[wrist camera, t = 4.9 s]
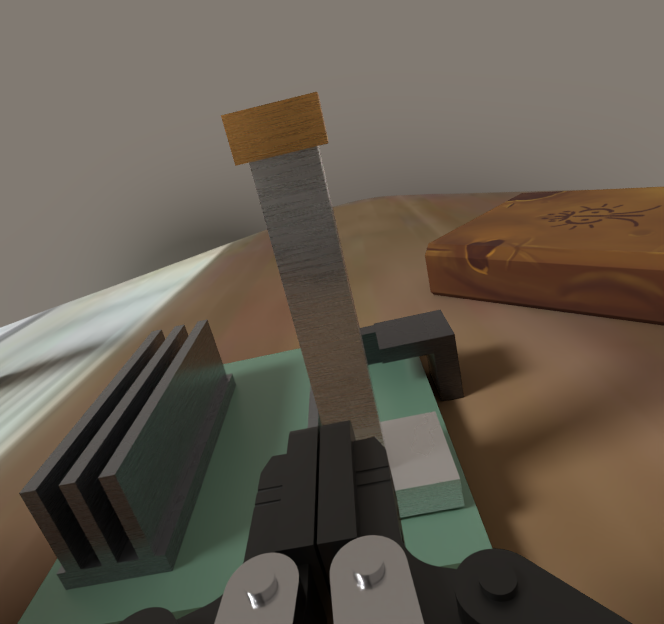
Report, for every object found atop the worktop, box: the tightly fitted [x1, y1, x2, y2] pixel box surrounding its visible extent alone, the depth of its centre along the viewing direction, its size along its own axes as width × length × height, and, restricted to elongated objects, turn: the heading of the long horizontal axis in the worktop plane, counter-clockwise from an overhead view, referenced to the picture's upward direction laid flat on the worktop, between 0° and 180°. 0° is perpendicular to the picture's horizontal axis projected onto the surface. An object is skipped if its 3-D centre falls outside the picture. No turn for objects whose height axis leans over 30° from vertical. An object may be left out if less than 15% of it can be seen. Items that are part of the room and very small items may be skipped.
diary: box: [425, 187, 664, 325], centre depth 44 cm, size 23×19×6 cm
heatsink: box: [19, 310, 464, 590], centre depth 28 cm, size 17×20×7 cm
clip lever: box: [221, 92, 464, 518], centre depth 20 cm, size 5×6×17 cm
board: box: [18, 348, 492, 624], centre depth 30 cm, size 22×20×2 cm
